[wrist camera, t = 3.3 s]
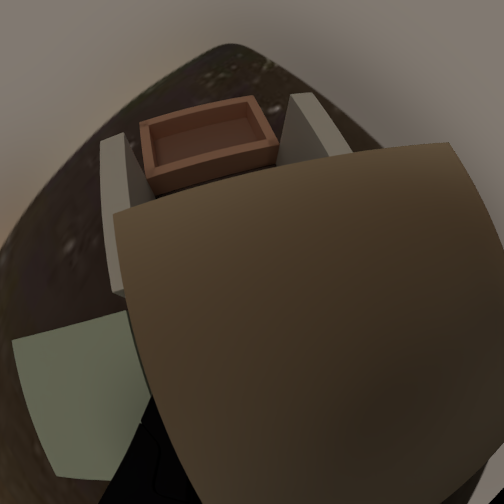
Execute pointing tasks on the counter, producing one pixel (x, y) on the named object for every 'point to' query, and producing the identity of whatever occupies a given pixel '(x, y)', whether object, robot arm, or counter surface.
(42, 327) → the counter surface
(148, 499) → the robot arm
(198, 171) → the tray
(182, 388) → the beech post
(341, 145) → the channel
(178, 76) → the counter surface
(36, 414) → the green mat
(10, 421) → the counter surface
